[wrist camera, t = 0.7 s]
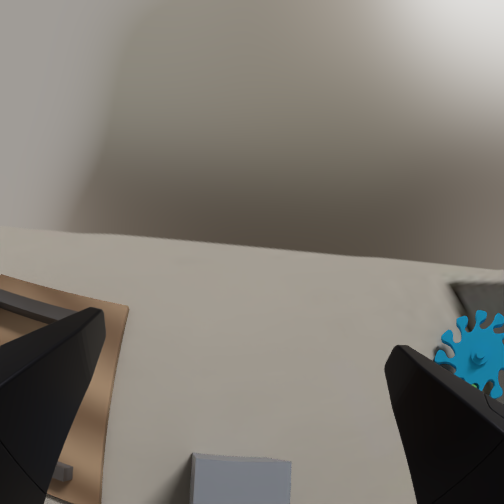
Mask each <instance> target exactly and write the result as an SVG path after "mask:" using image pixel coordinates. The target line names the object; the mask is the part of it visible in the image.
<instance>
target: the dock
mask: <svg viewBox="0 0 504 504" xmlns="http://www.w3.org/2000/svg"><path fill="white" fill-rule="evenodd" d="M88 307H95V308H99V309H102V310H103V312H104V317H105V327H106V338H105V342H104V344H103V347H102V350H101V353H100V356H99V359H98V362H97V365H96V368H95V371H94V374H93V377H92V380H91V382H90V385H89V387H88V389H87V391H86V393H85V396H84V398H83V400H82V402H81V405H80V407H79V409H78V412H77V414H76V416H75V419H74V421H73V424H72V426H71V428H70V431H69V433H68V436H67V438H66V441H65V443H64V446H63V449H62V451H61V454H60V457H59V459H58V462H57V465H56V468H55V470H54V473H53V476H52V479H51V482H50V485H49V488H48V491H47V493H48V494H50V495H52V496H55V497H57V498H60V499H62V500H65V501H68V502H70V503H73V504H101V495H102V476H103V463H104V452H105V442H106V433H107V425H108V417H109V410H110V404H111V397H112V391H113V385H114V379H115V374H116V368H117V363H118V358H119V353H120V348H121V343H122V338H123V334H124V329H125V325H126V321H127V316H128V312H129V307H128V306H126V305H121V304H116V303H111V302H106V301H102V300H97V299H93V298H89V297H84V296H80V295H76V294H72V293H68V292H63V291H59V290H56V289H52V288H48V287H44V286H40V285H37V284H33V283H29V282H26V281H22V280H19V279H15V278H12V277H9V276H5V275H2V274H1V275H0V346H1V345H3V344H5V343H7V342H9V341H12V340H14V339H16V338H19V337H21V336H23V335H25V334H28V333H30V332H32V331H35V330H37V329H39V328H42V327H44V326H46V325H49V324H51V323H53V322H55V321H58V320H60V319H62V318H65V317H67V316H69V315H72V314H74V313H76V312H79V311H81V310H84V309H86V308H88Z"/></svg>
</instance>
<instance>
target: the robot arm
mask: <svg viewBox="0 0 504 504" xmlns="http://www.w3.org/2000/svg"><path fill="white" fill-rule="evenodd" d="M105 338H106V327H105V317H104V312H103V310H102V309H99V308H95V307H88V308H86V309H84V310H81V311H79V312H76V313H74V314H72V315H69V316H67V317H65V318H62V319H60V320H58V321H55V322H53V323H51V324H49V325H46V326H44V327H42V328H39V329H37V330H35V331H32V332H30V333H28V334H25V335H23V336H21V337H19V338H16V339H14V340H12V341H9V342H7V343H5V344H3V345H1V346H0V504H44V501H45V498H46V495H45V494H47V491H48V488H49V485H50V482H51V479H52V476H53V473H54V470H55V468H56V465H57V462H58V459H59V457H60V454H61V451H62V449H63V446H64V443H65V441H66V438H67V436H68V433H69V431H70V428H71V426H72V424H73V421H74V419H75V416H76V414H77V412H78V409H79V407H80V405H81V402H82V400H83V398H84V396H85V393H86V391H87V389H88V387H89V385H90V382H91V380H92V377H93V374H94V371H95V368H96V365H97V362H98V359H99V356H100V353H101V350H102V347H103V344H104V342H105ZM384 370H385V376H386V380H387V385H388V390H389V395H390V400H391V404H392V409H393V412H394V416H395V419H396V423H397V426H398V429H399V433H400V436H401V440H402V444H403V447H404V451H405V455H406V459H407V462H408V466H409V470H410V474H411V479H412V483H413V487H414V492H415V496H416V501H417V504H504V404H502V403H500V402H499V401H497V400H495V399H494V398H492V397H490V396H489V395H487V394H485V393H483V392H482V391H481V390H479V389H477V388H476V387H474V386H472V385H471V384H469V383H468V382H466V381H464V380H463V379H461V378H459V377H458V376H456V375H455V374H453V373H451V372H450V371H448V370H446V369H445V368H443V367H442V366H440V365H438V364H437V363H435V362H433V361H432V360H430V359H429V358H427V357H425V356H424V355H422V354H420V353H419V352H417V351H416V350H414V349H412V348H411V347H409V346H407V345H396V346H395V347H394V348H393V350H392V352H391V354H390V356H389V358H388V360H387V362H386V364H385V368H384Z"/></svg>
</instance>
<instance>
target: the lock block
mask: <svg viewBox="0 0 504 504" xmlns="http://www.w3.org/2000/svg"><path fill="white" fill-rule="evenodd" d="M290 490H291V461H285V460H278V459H272V458H267V457H237V456H221V455H209V454H199V453H192V467H191V482H190V500H189V504H290Z"/></svg>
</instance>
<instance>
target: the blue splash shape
mask: <svg viewBox="0 0 504 504" xmlns="http://www.w3.org/2000/svg"><path fill="white" fill-rule="evenodd" d="M486 316H487V312H485V311H482V310H478V311H477V312H476V316H475V320H476V325H475V327H474V329H473V331H472V332H470V333H468V332H466V331H465V328H466V326H467V323H468V318H467V316H462V317H459V318H457V323H456V325H457V327H458V328H459V330H460V332H461V341H460V342H459V343H454V342H453V333H452V331H451V330H447V331H446V332H445V333H444V334H443V335H442V336H441V340H442V342H443V343H444V344H447V345H449V346H450V347H451V348H452V349H453V351H454V353H455V356H454V357H453V358H448V357H447V356H446V354H445V352H444V351H443V350H439V351H438V352H437V354H436V356H435V363H437V364H438V365H440V364H448V365H451V366H452V367H454V368H455V369H456V372H455V373H454V374H455V375H456V376H458V377H459V378H461V379H463V380H464V381H466V382H468V383H469V384H471V385H472V386H474V387H476V388H477V389H479V390H481V391H482V390H483V387H484V385H485V384H486V383H487V382H488V381H491V382H492V383H493V389H492V390H491V392H490V395H489V396H490V397H492V398H494V399H497V398H499V397H501V396H502V393H503V391H502V388H501V387H500V385H499V382H498V372H499V371H500V370H504V344H503V343H502V340H503V339H504V333H501V334H495V333H494V332H493V329H494V328H499V327H502V326H503V324H504V317H503V316H502V315H501V314H500V313H497V314H496V316H495V318H494V321H493V323H492V324H491V325H490V326H489V327H487V328H486V329H481V328H480V326H479V325H480V324H482V323H483V322H484V321H485V320H486Z"/></svg>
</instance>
